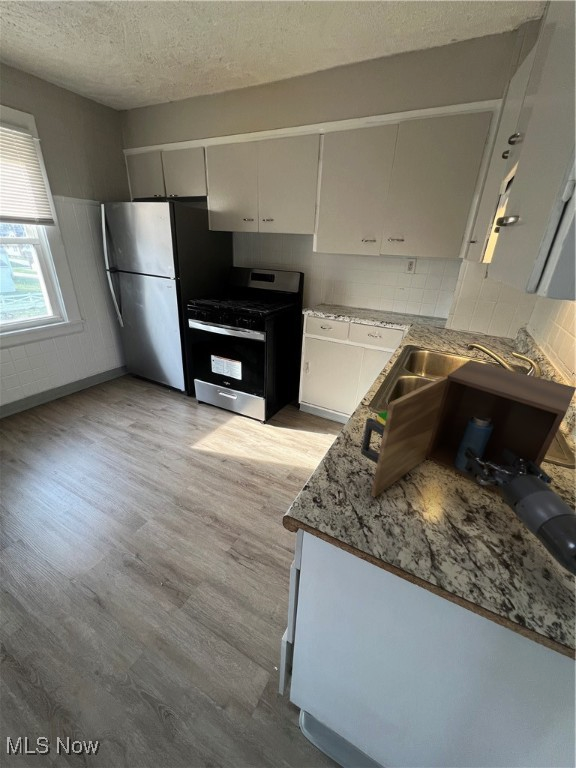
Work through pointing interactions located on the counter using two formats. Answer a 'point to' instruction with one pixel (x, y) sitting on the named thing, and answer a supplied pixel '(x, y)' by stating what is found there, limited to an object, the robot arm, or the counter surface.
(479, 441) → the water bottle
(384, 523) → the counter surface
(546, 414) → the cupboard
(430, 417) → the cupboard door
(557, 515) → the robot arm
